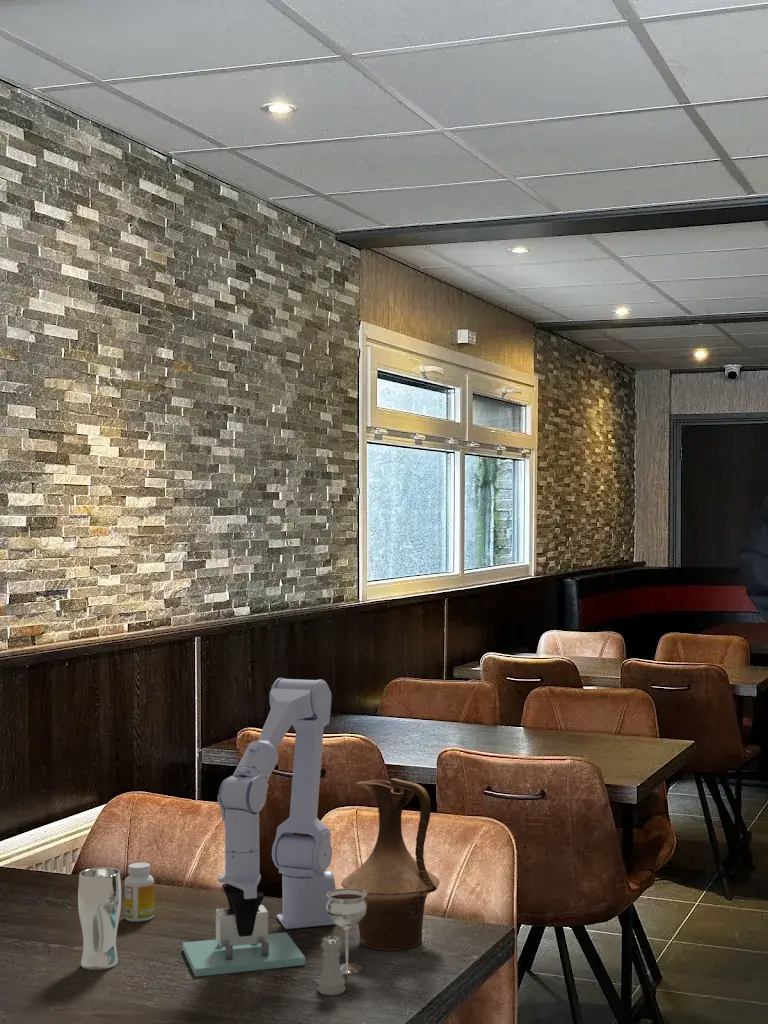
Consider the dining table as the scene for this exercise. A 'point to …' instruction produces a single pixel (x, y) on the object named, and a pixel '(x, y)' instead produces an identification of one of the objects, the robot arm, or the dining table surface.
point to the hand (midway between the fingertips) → (242, 931)
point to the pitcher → (394, 871)
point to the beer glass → (99, 916)
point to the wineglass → (347, 916)
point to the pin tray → (242, 955)
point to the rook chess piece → (331, 968)
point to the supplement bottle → (139, 893)
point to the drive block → (229, 931)
